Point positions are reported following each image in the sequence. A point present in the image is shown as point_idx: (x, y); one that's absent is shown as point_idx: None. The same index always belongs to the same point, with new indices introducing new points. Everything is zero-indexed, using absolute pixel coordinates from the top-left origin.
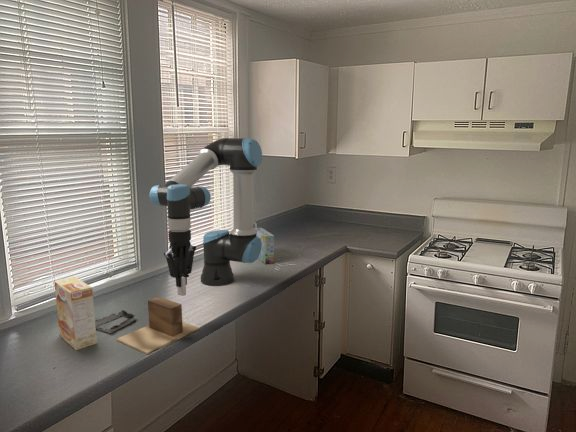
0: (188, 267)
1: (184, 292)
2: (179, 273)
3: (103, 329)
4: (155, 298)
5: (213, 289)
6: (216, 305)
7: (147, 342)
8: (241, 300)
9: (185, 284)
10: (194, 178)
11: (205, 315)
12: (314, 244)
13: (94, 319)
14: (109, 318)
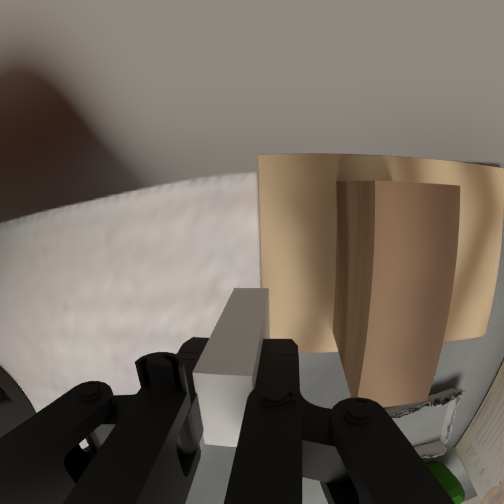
0: (66, 458)
1: (247, 297)
2: (296, 441)
3: (454, 410)
4: (384, 400)
5: (28, 377)
6: (68, 283)
7: (468, 228)
8: (4, 241)
9: (218, 328)
10: None
11: (145, 247)
12: None
13: None
14: None
